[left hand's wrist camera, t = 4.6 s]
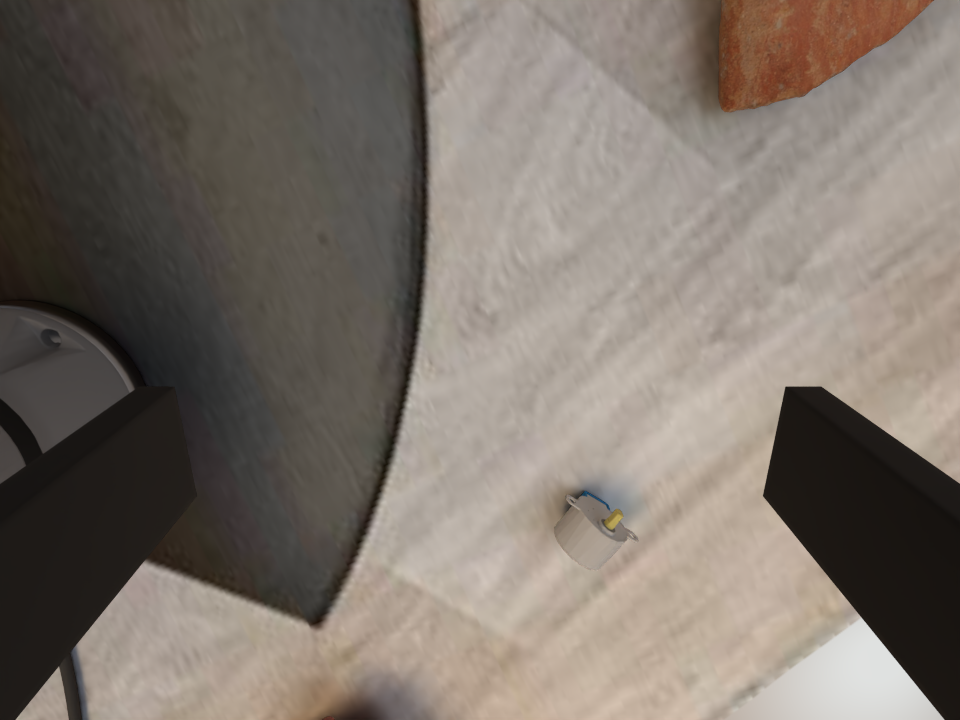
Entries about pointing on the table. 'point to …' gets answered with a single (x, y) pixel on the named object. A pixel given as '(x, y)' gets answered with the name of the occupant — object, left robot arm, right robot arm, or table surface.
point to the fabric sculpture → (328, 718)
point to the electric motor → (591, 531)
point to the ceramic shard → (798, 44)
